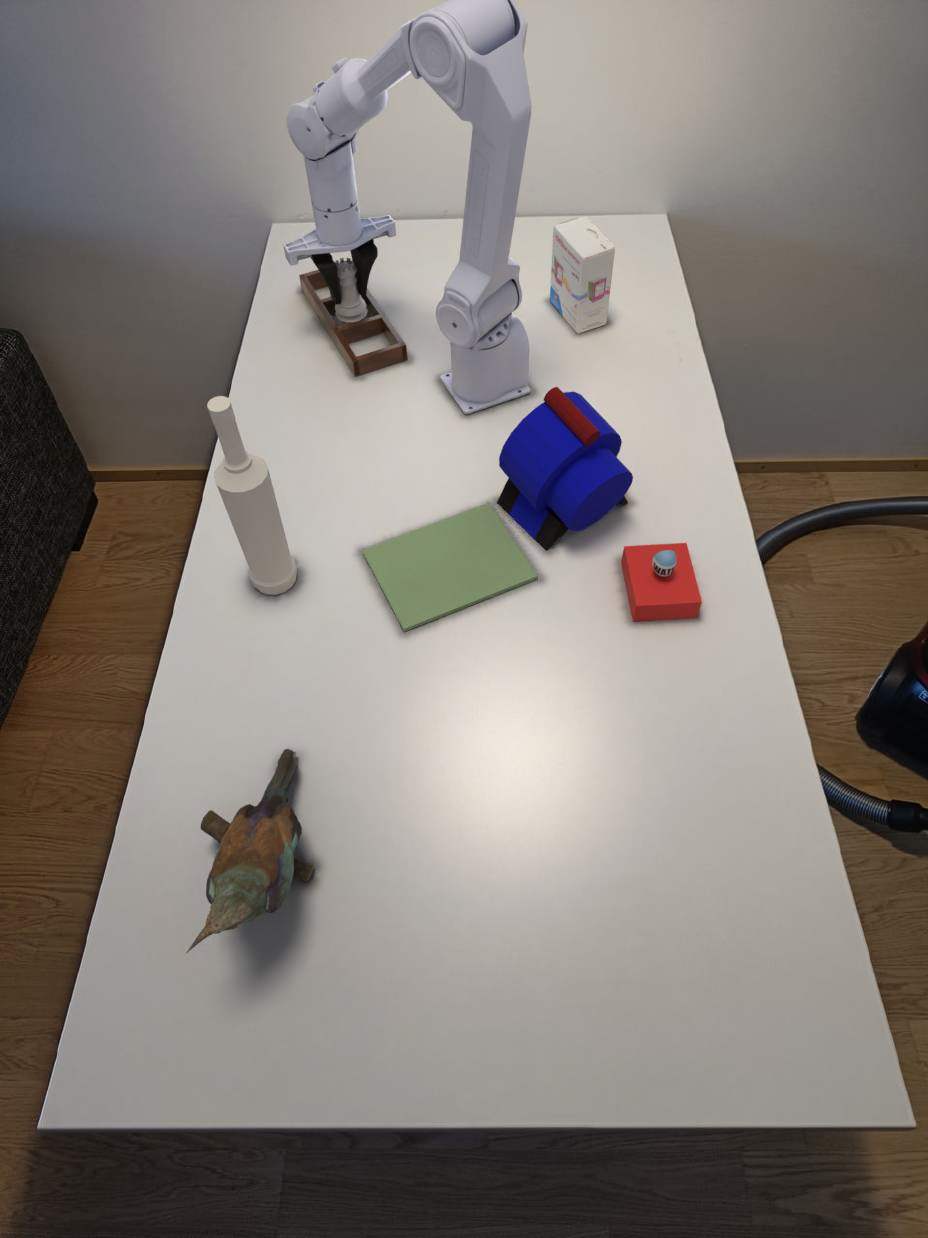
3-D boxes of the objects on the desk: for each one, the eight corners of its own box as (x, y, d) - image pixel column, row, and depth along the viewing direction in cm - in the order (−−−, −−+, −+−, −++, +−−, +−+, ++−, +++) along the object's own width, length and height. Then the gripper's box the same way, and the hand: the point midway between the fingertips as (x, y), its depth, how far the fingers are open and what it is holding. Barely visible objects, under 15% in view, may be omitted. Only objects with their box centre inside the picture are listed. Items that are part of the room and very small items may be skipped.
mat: (489, 505, 103) (489, 502, 103) (537, 579, 97) (538, 575, 96) (362, 553, 100) (361, 549, 99) (404, 632, 93) (403, 629, 93)
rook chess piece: (353, 329, 120) (345, 277, 114) (329, 317, 122) (319, 265, 115) (374, 312, 122) (368, 260, 116) (350, 301, 124) (342, 249, 117)
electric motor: (571, 453, 108) (583, 353, 95) (640, 513, 102) (662, 415, 90) (492, 498, 104) (493, 399, 92) (559, 563, 98) (570, 467, 86)
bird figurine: (231, 745, 85) (151, 767, 65) (333, 750, 85) (284, 775, 65) (221, 885, 84) (138, 952, 64) (324, 892, 84) (272, 960, 64)
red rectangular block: (696, 617, 94) (708, 581, 88) (632, 621, 93) (641, 585, 88) (681, 558, 98) (692, 521, 93) (621, 562, 98) (628, 524, 93)
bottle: (290, 600, 96) (236, 427, 75) (245, 592, 97) (179, 420, 76) (304, 563, 99) (256, 387, 78) (260, 556, 100) (201, 380, 79)
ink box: (546, 300, 125) (551, 222, 115) (577, 291, 126) (585, 212, 117) (576, 335, 121) (584, 256, 111) (607, 324, 122) (618, 246, 112)
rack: (350, 275, 130) (348, 260, 128) (407, 359, 118) (406, 344, 116) (301, 290, 128) (298, 274, 126) (355, 376, 117) (352, 361, 115)
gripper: (377, 169, 112) (387, 266, 123) (268, 198, 109) (288, 295, 120) (398, 196, 108) (407, 293, 120) (286, 227, 105) (306, 324, 116)
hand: (349, 296), depth 119 cm, fingers closed on rook chess piece, 3 cm apart
